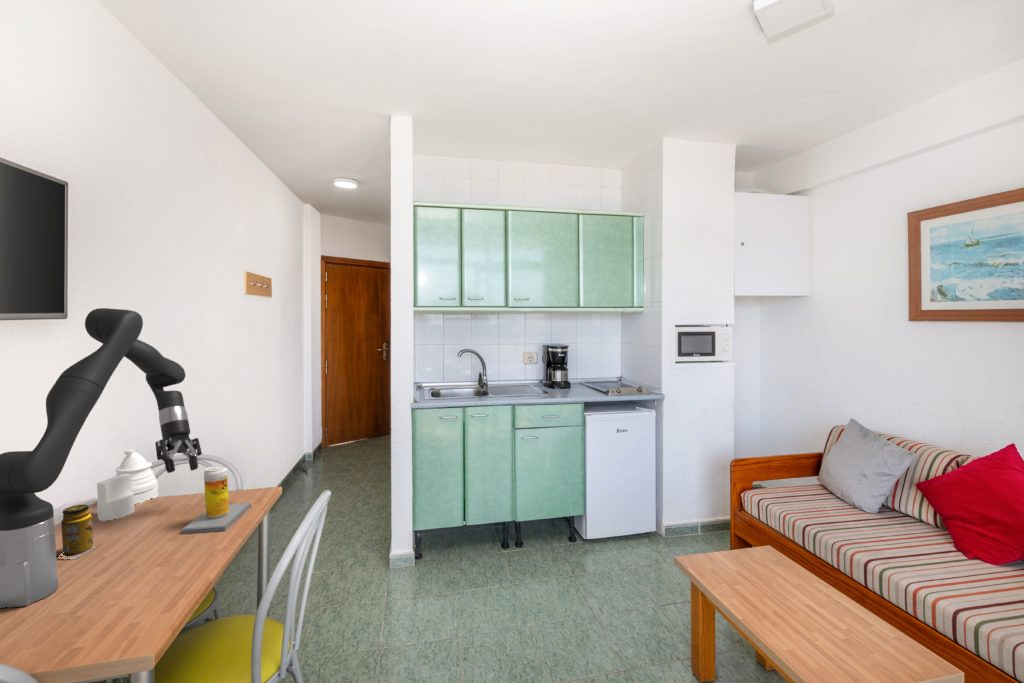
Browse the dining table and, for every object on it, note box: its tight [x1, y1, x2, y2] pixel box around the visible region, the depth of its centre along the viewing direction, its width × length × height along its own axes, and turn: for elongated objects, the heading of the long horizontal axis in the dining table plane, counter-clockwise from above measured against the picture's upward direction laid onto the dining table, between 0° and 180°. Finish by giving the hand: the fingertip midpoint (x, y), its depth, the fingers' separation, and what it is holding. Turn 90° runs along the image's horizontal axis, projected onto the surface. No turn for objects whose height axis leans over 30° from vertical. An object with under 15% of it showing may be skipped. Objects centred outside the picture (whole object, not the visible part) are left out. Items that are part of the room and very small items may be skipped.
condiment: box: [56, 504, 97, 561], centre depth 126 cm, size 7×8×12 cm
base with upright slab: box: [96, 474, 135, 522], centre depth 150 cm, size 9×9×12 cm
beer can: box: [203, 464, 230, 519], centre depth 145 cm, size 6×6×15 cm
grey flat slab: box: [180, 502, 252, 535], centre depth 146 cm, size 18×12×1 cm, turn 7°
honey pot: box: [114, 448, 159, 505], centre depth 163 cm, size 13×13×18 cm
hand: (183, 470), depth 149 cm, fingers open, 8 cm apart
